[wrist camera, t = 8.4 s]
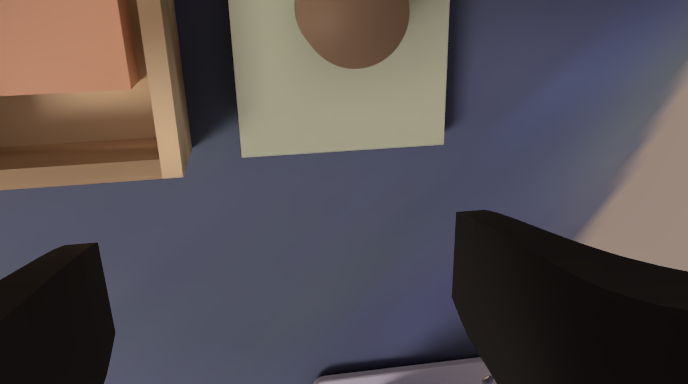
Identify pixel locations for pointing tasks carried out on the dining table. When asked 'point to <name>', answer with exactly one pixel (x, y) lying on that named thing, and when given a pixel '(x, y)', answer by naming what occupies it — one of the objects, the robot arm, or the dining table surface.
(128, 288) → the dining table surface
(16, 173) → the box
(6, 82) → the block
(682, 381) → the robot arm
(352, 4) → the lid
